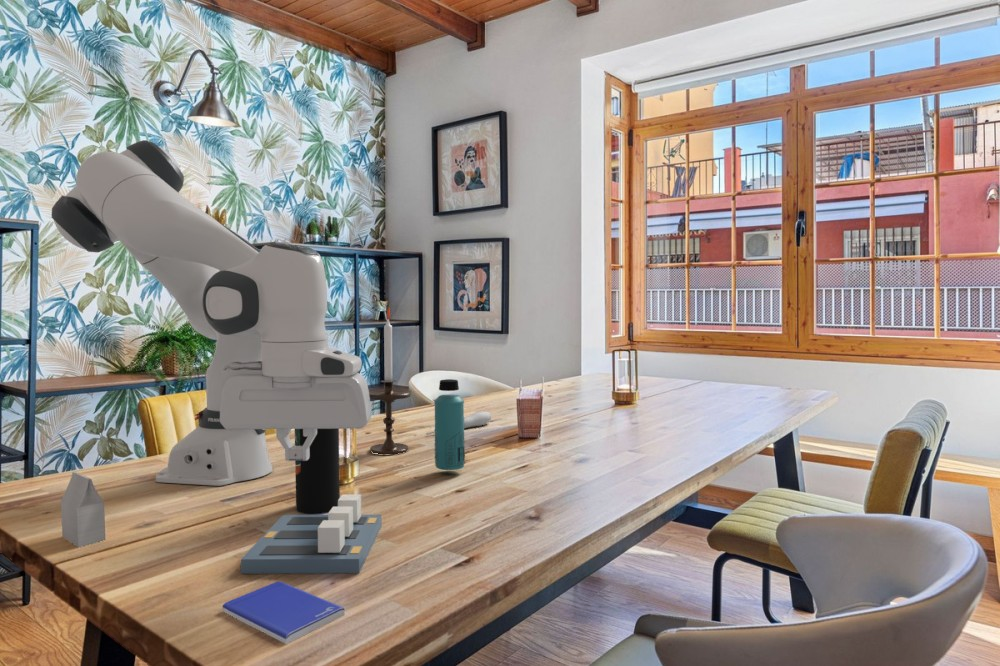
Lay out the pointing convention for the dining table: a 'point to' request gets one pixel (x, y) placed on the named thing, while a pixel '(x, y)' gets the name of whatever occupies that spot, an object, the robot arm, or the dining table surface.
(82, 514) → the grey gabled box
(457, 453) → the beverage bottle
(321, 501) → the wine bottle
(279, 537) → the switch board
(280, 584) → the hard drive
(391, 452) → the candlestick
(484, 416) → the screwdriver
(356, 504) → the tab
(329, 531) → the tab
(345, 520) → the tab
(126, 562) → the dining table surface
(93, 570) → the dining table surface
